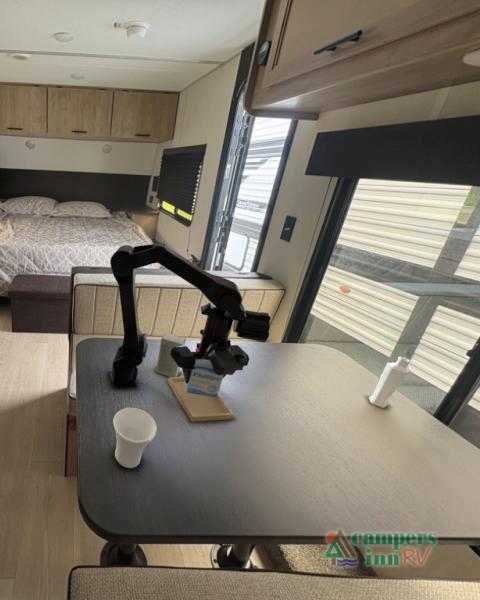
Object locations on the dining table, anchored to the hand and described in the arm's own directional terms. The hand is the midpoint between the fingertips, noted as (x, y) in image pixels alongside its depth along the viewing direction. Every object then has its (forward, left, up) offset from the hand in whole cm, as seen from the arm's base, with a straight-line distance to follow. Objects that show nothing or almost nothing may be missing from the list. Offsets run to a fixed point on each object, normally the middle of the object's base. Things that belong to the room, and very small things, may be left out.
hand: (201, 382), depth 80 cm
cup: (-24, -16, -6) cm, 29 cm away
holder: (0, 0, -6) cm, 6 cm away
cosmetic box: (-4, +12, -6) cm, 14 cm away
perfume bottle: (+52, -5, -6) cm, 53 cm away
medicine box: (0, 0, -3) cm, 3 cm away
